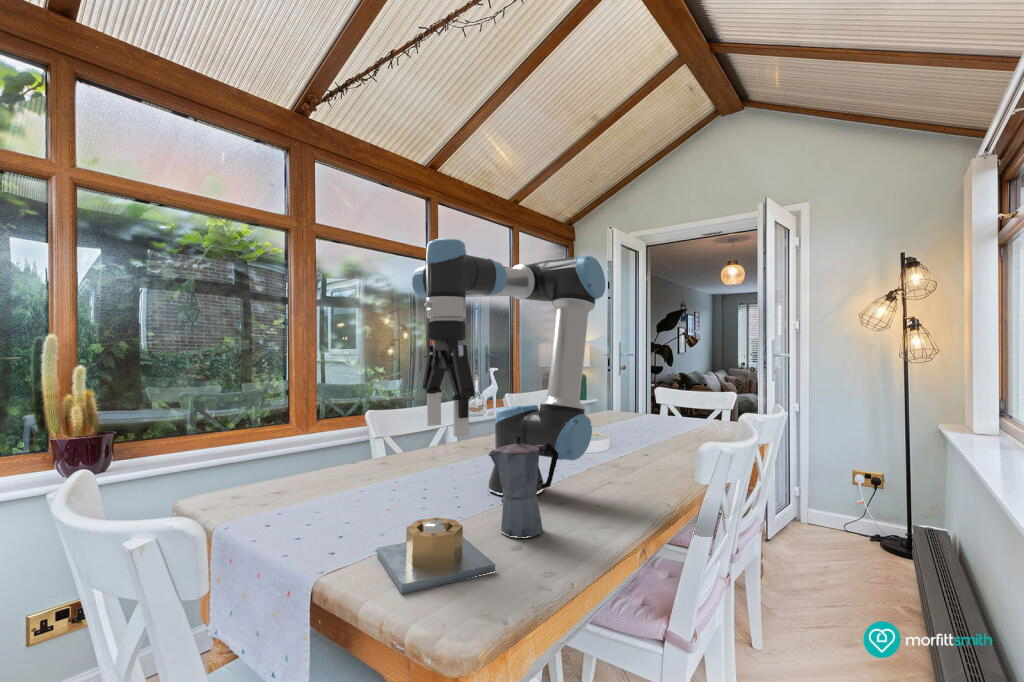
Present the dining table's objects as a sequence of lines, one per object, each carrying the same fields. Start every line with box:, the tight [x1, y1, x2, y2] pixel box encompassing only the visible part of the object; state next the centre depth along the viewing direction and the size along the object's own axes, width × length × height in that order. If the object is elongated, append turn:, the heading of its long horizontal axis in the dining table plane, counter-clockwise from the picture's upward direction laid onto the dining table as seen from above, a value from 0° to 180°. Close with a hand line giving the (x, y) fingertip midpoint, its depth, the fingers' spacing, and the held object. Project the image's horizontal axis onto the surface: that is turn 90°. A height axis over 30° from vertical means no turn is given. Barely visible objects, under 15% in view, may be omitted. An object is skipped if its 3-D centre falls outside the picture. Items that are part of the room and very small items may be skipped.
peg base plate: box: [376, 520, 496, 595], centre depth 85 cm, size 16×16×7 cm
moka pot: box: [487, 436, 558, 537], centre depth 102 cm, size 10×15×20 cm, turn 111°
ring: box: [405, 517, 464, 567], centre depth 85 cm, size 9×9×5 cm
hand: (446, 430), depth 94 cm, fingers open, 13 cm apart
